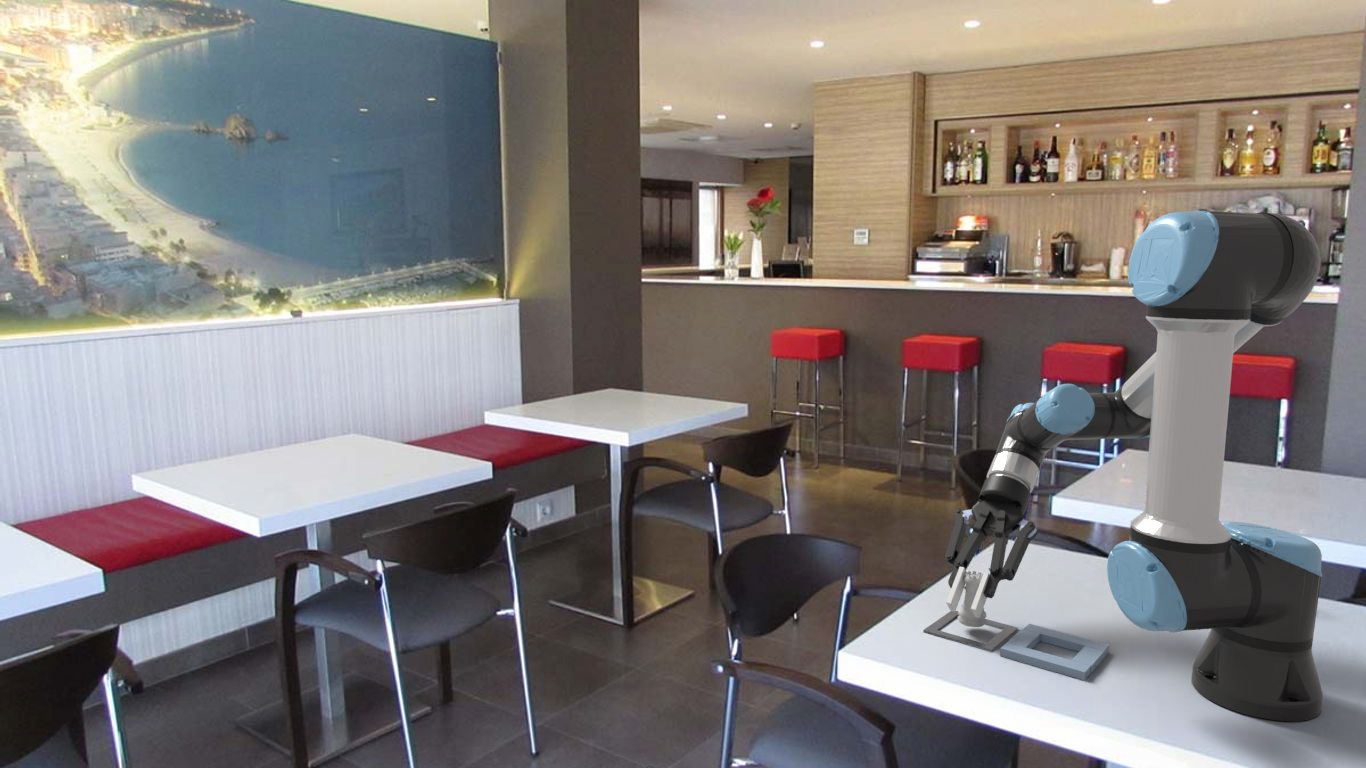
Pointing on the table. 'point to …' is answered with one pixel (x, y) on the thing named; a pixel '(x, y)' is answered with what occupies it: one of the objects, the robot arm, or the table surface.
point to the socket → (1077, 667)
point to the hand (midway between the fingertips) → (962, 609)
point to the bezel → (988, 646)
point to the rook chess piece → (971, 602)
